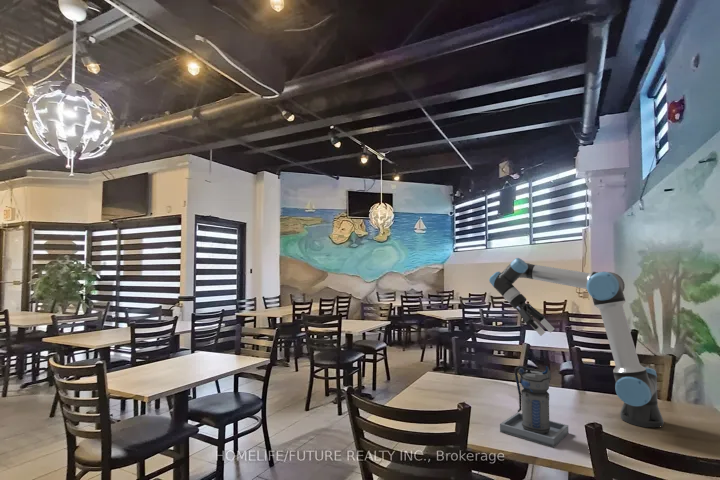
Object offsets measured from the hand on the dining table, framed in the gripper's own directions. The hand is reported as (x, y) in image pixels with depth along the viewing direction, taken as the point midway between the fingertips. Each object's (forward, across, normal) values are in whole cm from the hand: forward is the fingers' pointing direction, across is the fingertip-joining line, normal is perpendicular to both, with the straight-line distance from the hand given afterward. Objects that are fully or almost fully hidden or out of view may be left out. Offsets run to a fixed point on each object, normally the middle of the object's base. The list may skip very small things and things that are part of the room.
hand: (548, 332), depth 187 cm
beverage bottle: (+27, +32, -22) cm, 47 cm away
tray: (+27, +32, -22) cm, 48 cm away
